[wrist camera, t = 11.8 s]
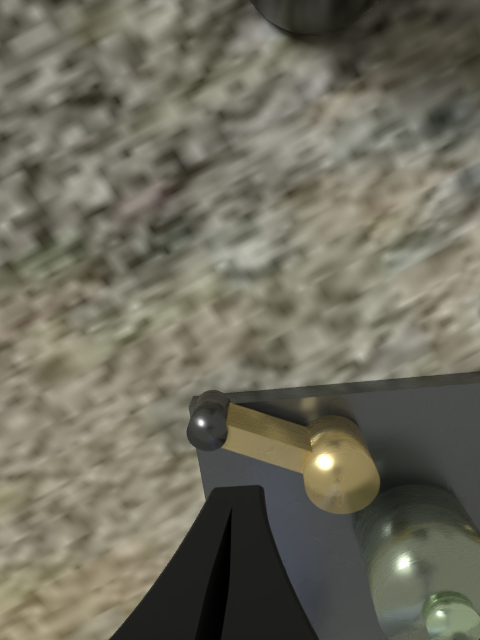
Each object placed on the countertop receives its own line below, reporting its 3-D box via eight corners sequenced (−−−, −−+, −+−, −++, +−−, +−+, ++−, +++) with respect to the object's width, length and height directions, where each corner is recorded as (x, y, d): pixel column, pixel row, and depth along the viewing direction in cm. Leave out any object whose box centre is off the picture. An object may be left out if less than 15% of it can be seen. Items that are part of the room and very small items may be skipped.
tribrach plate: (593, 618, 24) (707, 763, 18) (234, 628, 26) (223, 759, 20) (635, 358, 19) (810, 430, 13) (193, 396, 21) (162, 474, 15)
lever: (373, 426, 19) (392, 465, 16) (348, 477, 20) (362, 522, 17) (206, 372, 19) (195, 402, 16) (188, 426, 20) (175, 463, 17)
